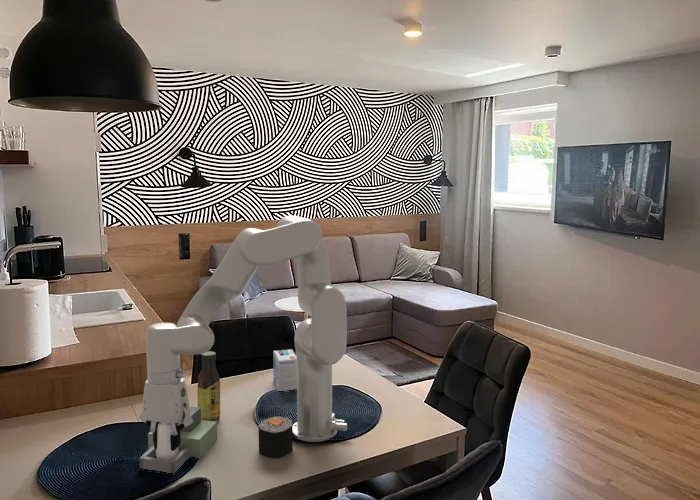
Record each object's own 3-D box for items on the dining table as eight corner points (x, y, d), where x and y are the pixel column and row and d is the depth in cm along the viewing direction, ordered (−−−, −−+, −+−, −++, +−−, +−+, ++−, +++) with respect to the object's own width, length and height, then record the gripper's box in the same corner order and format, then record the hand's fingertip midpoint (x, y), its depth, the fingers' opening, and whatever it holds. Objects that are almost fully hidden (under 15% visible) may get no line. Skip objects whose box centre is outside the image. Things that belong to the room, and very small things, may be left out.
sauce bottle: (214, 426, 153) (213, 358, 151) (193, 424, 155) (192, 356, 152) (224, 416, 160) (223, 350, 157) (204, 414, 161) (202, 349, 158)
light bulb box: (272, 380, 188) (272, 350, 186) (292, 378, 190) (292, 348, 188) (278, 392, 178) (278, 360, 176) (298, 390, 180) (298, 358, 178)
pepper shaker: (168, 447, 138) (166, 406, 136) (183, 453, 135) (182, 411, 134) (150, 457, 133) (148, 414, 132) (166, 463, 130) (164, 419, 129)
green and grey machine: (217, 439, 146) (216, 403, 145) (184, 475, 129) (182, 434, 127) (169, 434, 149) (167, 398, 147) (130, 468, 131) (128, 428, 130)
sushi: (253, 453, 139) (252, 423, 138) (273, 439, 147) (273, 411, 145) (278, 461, 135) (278, 431, 134) (298, 447, 142) (298, 418, 141)
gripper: (203, 372, 133) (205, 443, 136) (141, 367, 137) (144, 436, 139) (188, 383, 126) (191, 458, 129) (123, 378, 129) (127, 451, 132)
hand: (167, 446), depth 134 cm, fingers closed on pepper shaker, 3 cm apart
